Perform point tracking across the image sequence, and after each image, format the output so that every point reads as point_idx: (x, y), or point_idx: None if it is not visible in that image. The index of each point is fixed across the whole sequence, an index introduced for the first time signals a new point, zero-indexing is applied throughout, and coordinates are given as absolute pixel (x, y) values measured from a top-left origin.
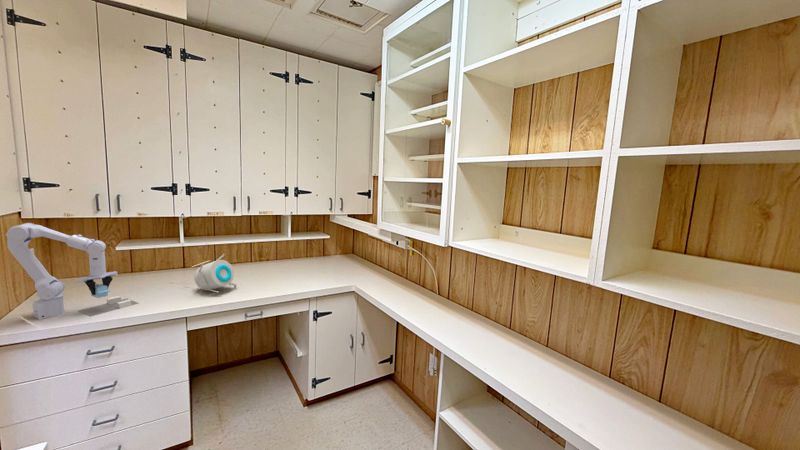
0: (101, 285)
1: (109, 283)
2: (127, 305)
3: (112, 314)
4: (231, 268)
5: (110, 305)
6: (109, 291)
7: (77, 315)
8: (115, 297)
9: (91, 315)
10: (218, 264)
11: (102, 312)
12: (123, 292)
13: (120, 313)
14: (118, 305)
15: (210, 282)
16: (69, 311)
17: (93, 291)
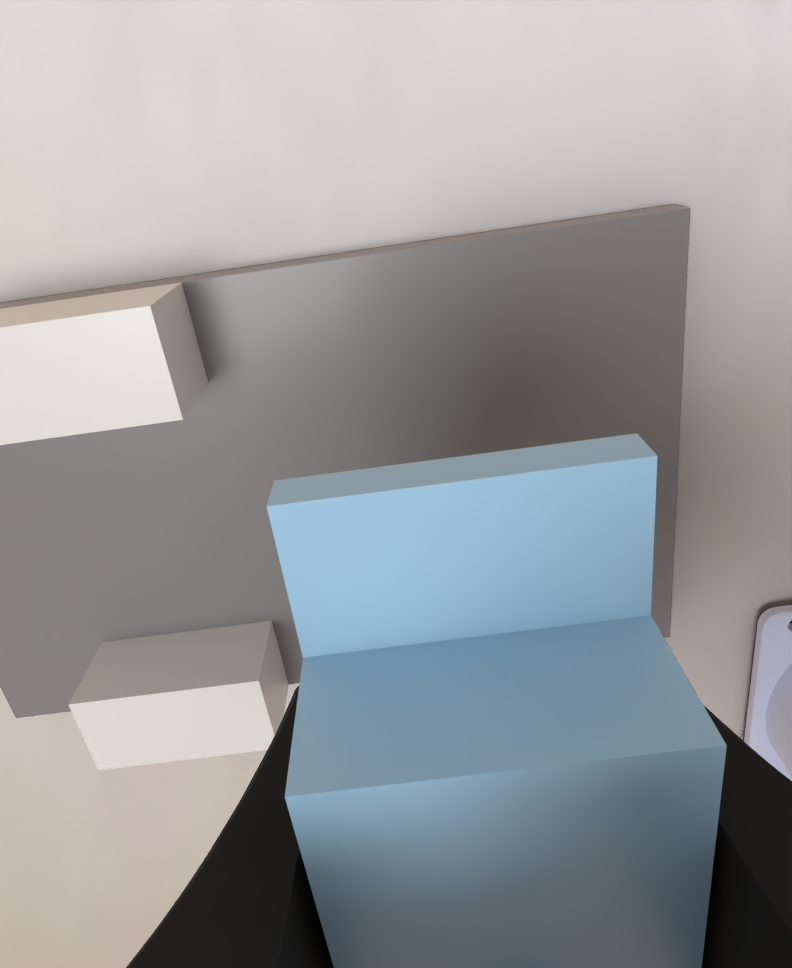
0: (442, 953)
1: (153, 958)
2: (30, 306)
3: (342, 133)
4: None
5: (270, 560)
6: (283, 481)
7: (706, 510)
8: (150, 721)
9: (649, 254)
10: None
11: (468, 279)
12: (34, 963)
13: (214, 68)
14: (177, 337)
15: None
16: None
17: (711, 718)
